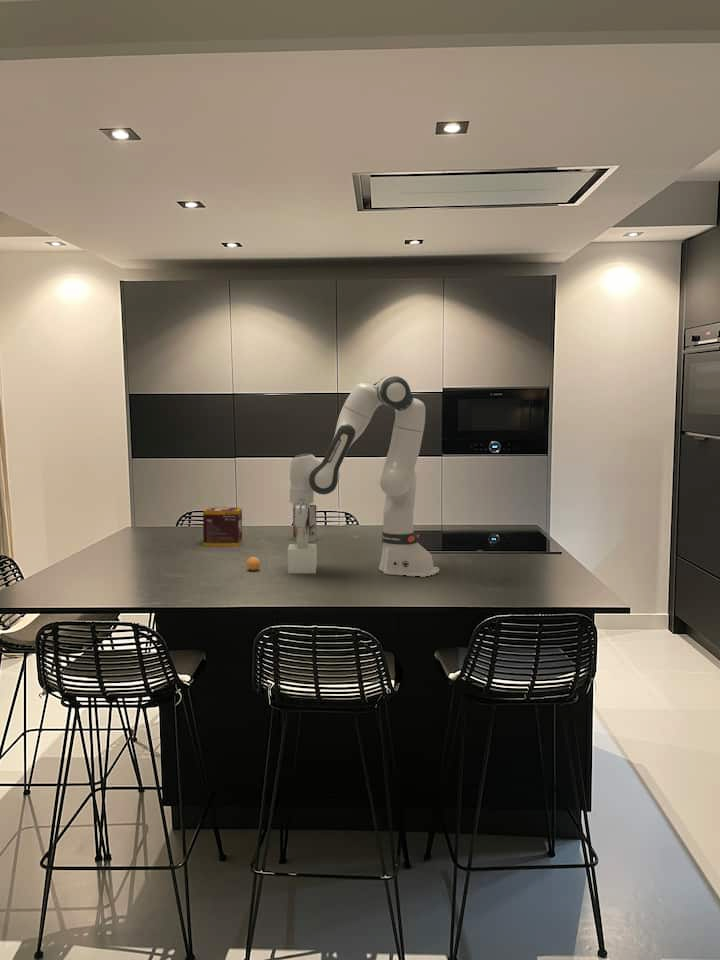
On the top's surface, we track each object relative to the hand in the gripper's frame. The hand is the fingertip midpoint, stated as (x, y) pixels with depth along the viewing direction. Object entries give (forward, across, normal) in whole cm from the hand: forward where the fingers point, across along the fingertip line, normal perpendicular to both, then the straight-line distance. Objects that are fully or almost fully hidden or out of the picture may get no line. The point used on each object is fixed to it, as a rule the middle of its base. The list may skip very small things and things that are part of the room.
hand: (301, 534), depth 274 cm
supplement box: (+15, +51, +36) cm, 64 cm away
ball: (+11, 0, +17) cm, 21 cm away
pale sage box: (+13, 0, -1) cm, 13 cm away
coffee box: (+14, +58, 0) cm, 60 cm away
